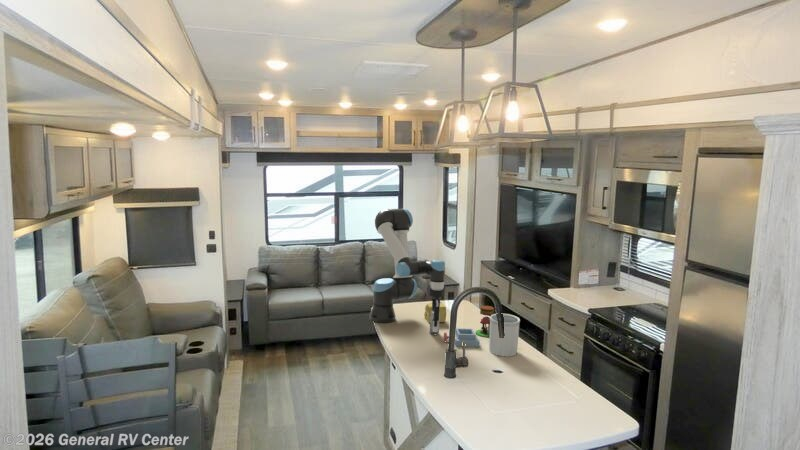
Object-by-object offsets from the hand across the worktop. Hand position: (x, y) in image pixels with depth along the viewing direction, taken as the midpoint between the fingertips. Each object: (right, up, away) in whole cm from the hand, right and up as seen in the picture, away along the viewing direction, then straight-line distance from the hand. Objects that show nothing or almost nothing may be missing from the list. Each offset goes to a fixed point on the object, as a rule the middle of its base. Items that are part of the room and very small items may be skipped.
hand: (434, 329), depth 268 cm
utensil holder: (+33, -7, -21) cm, 39 cm away
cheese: (+2, +1, +22) cm, 22 cm away
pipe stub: (0, -2, 0) cm, 2 cm away
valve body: (+13, -4, -10) cm, 17 cm away
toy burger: (+28, -3, +3) cm, 29 cm away
